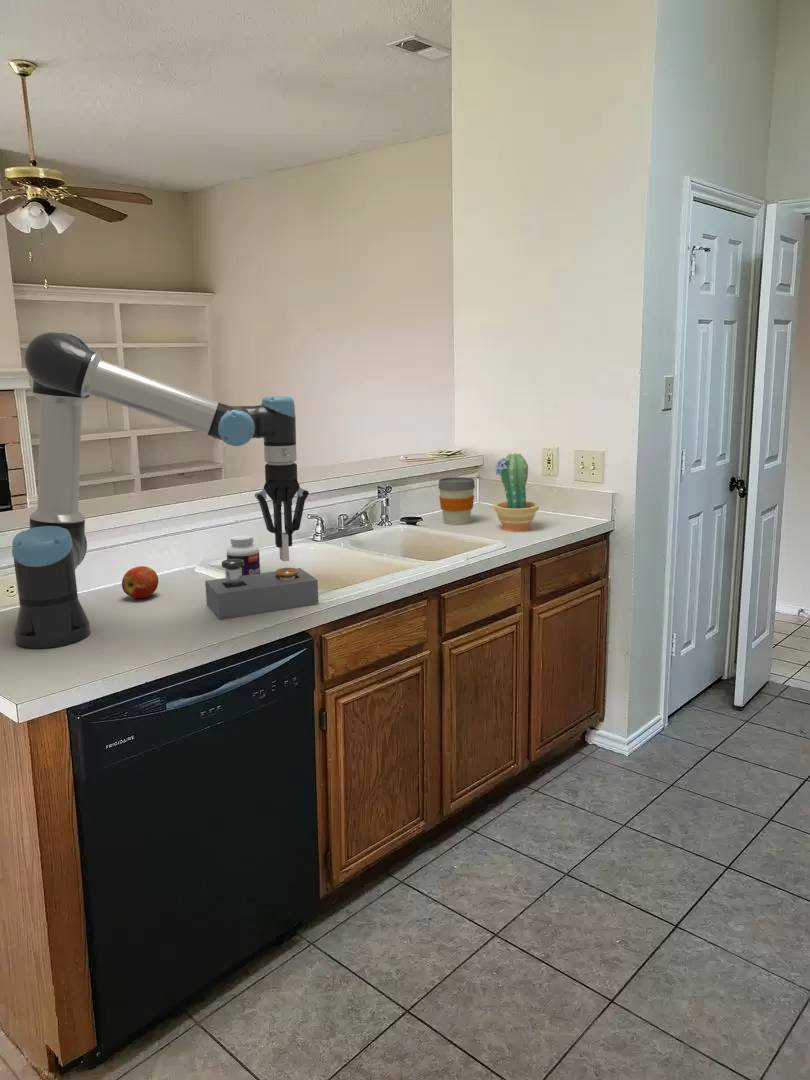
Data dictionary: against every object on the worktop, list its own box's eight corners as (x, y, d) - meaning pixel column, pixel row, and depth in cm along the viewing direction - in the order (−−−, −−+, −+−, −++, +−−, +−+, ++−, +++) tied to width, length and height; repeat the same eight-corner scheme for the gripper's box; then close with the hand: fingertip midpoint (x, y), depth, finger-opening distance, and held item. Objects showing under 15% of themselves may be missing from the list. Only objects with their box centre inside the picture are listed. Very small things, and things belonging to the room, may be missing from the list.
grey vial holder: (219, 619, 193) (217, 594, 191) (206, 604, 204) (205, 580, 203) (318, 603, 203) (317, 579, 201) (301, 590, 214) (300, 567, 213)
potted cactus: (499, 522, 291) (499, 450, 286) (543, 525, 286) (544, 451, 280) (487, 532, 277) (487, 456, 271) (533, 534, 272) (534, 457, 266)
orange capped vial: (281, 604, 203) (279, 574, 201) (275, 598, 207) (273, 569, 206) (301, 601, 205) (300, 571, 203) (295, 595, 209) (293, 566, 208)
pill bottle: (254, 597, 209) (251, 541, 206) (224, 596, 210) (220, 540, 207) (266, 588, 217) (262, 534, 213) (236, 587, 218) (233, 533, 215)
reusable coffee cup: (477, 519, 298) (477, 477, 294) (471, 526, 286) (471, 483, 282) (442, 518, 301) (442, 476, 297) (435, 525, 289) (434, 482, 285)
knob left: (226, 596, 196) (224, 565, 195) (221, 590, 201) (219, 560, 199) (248, 593, 199) (246, 562, 197) (242, 587, 203) (240, 557, 201)
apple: (118, 600, 210) (115, 569, 208) (142, 591, 217) (139, 561, 215) (142, 603, 206) (139, 572, 204) (166, 594, 214) (163, 564, 212)
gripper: (258, 466, 192) (262, 566, 198) (312, 462, 198) (315, 560, 203) (249, 462, 199) (253, 559, 204) (302, 459, 205) (305, 553, 210)
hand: (284, 559), depth 204 cm, fingers closed
